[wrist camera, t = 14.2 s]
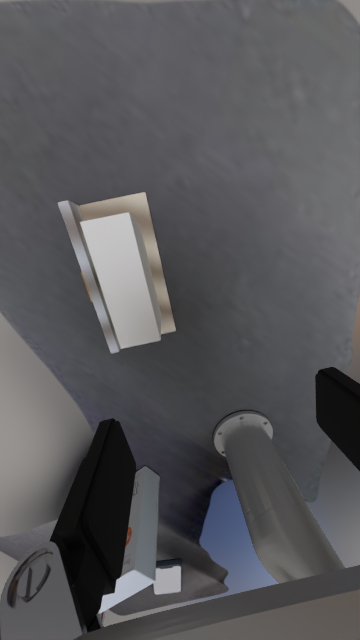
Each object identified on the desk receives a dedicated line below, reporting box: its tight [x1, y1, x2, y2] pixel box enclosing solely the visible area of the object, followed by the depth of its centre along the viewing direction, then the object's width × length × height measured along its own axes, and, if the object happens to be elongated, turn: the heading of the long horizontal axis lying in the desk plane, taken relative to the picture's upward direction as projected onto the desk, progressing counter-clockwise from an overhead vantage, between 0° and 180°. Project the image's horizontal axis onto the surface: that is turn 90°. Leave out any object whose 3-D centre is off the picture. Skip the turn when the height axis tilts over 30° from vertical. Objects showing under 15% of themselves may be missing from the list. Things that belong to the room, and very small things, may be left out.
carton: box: [80, 212, 161, 349], centre depth 25 cm, size 5×13×10 cm, turn 11°
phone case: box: [152, 559, 182, 595], centre depth 60 cm, size 9×2×16 cm
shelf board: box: [58, 192, 176, 353], centre depth 29 cm, size 20×10×5 cm, turn 11°
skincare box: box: [99, 466, 160, 614], centre depth 40 cm, size 21×6×16 cm, turn 131°
